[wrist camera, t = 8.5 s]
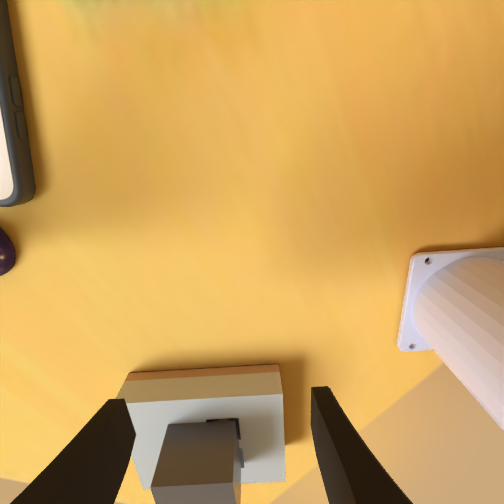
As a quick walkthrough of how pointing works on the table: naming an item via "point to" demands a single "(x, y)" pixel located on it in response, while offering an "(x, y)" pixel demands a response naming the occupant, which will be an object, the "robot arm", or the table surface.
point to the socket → (210, 414)
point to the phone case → (12, 125)
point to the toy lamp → (6, 253)
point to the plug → (199, 464)
